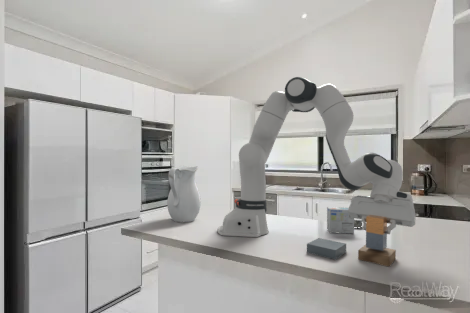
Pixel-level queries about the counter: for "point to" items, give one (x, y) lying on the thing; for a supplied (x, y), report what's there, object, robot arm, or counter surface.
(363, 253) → the stand
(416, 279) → the counter surface
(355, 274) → the counter surface
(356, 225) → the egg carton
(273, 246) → the counter surface
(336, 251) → the stand
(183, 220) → the pitcher
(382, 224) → the orange and blue block
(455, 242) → the counter surface
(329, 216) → the light bulb box
